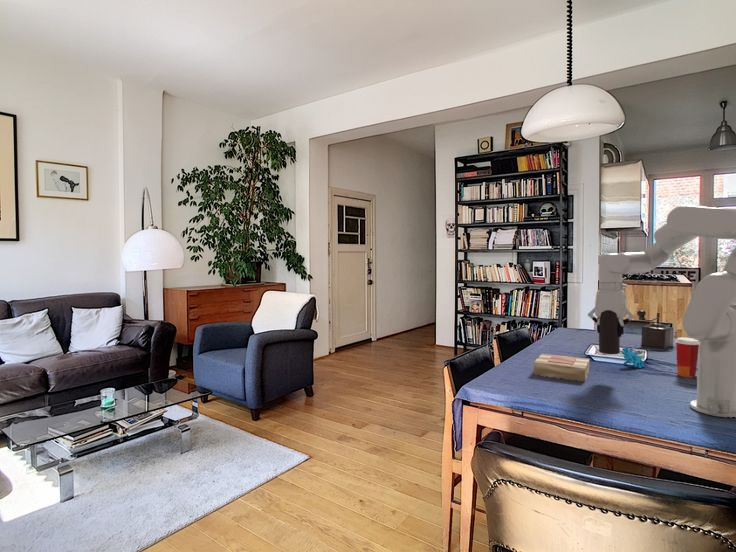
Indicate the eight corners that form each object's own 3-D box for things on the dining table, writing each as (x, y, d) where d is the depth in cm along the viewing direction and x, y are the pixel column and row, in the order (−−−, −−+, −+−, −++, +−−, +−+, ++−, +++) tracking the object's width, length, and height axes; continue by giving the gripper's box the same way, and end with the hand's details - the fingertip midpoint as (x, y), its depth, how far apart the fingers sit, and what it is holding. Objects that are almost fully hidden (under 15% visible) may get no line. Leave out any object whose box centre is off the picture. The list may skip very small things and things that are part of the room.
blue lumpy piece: (633, 366, 179) (619, 345, 185) (622, 374, 182) (609, 353, 189) (652, 367, 183) (637, 346, 189) (641, 374, 187) (627, 354, 193)
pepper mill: (649, 342, 230) (650, 307, 229) (673, 346, 221) (674, 309, 220) (633, 346, 222) (634, 310, 221) (658, 350, 213) (659, 312, 211)
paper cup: (693, 373, 174) (694, 337, 173) (702, 378, 167) (703, 341, 166) (670, 372, 176) (671, 336, 175) (678, 377, 169) (679, 340, 168)
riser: (584, 381, 165) (585, 367, 164) (533, 374, 174) (533, 361, 174) (589, 371, 178) (589, 358, 178) (541, 365, 188) (542, 352, 187)
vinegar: (614, 350, 170) (614, 298, 169) (623, 354, 163) (623, 299, 162) (595, 350, 170) (595, 298, 169) (603, 354, 164) (603, 300, 163)
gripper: (637, 286, 164) (637, 335, 165) (585, 286, 173) (585, 332, 174) (637, 288, 158) (637, 339, 158) (583, 287, 167) (583, 335, 167)
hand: (610, 335), depth 166 cm, fingers closed on vinegar, 5 cm apart
